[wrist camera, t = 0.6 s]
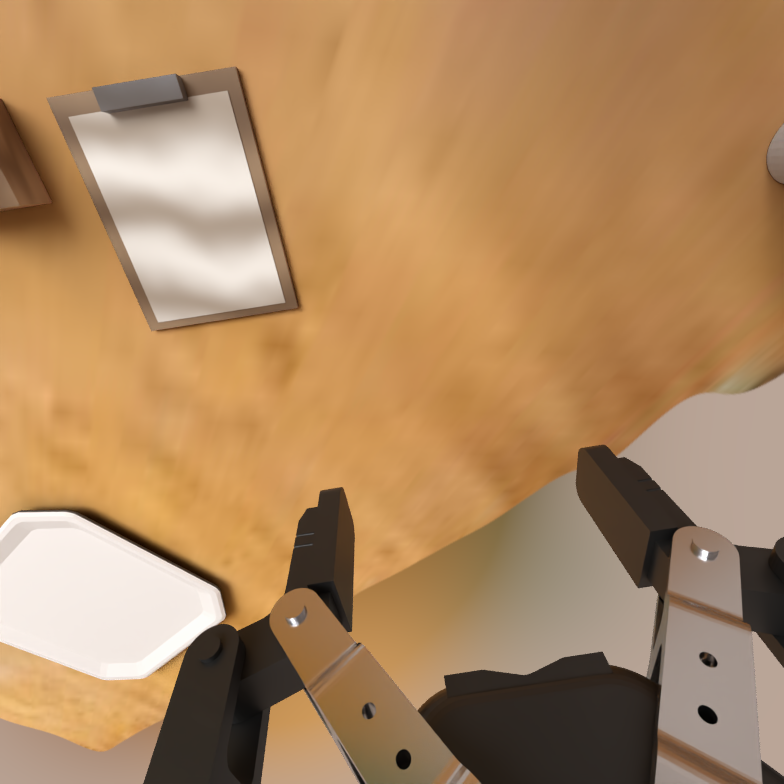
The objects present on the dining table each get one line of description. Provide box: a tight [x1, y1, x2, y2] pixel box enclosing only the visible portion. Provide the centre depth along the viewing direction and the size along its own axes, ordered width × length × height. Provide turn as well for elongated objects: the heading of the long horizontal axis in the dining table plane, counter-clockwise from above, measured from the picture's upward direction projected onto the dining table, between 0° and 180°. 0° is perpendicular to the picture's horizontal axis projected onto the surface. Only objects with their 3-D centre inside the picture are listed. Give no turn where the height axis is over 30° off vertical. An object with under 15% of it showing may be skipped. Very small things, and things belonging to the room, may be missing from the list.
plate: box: [0, 510, 226, 680], centre depth 54 cm, size 29×29×2 cm
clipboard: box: [47, 67, 299, 331], centre depth 33 cm, size 18×14×2 cm
